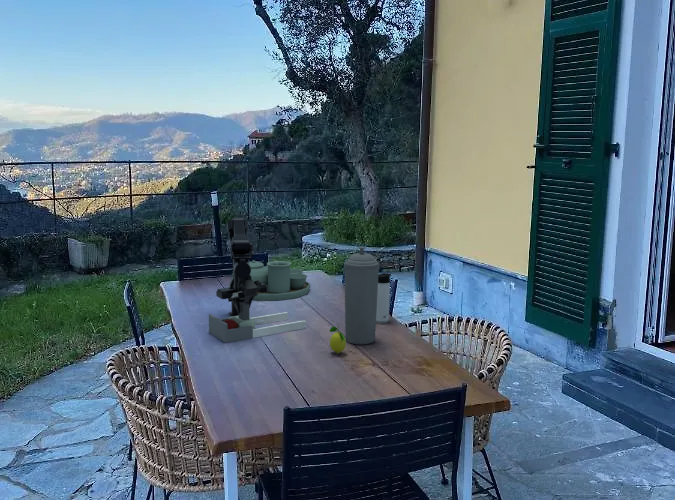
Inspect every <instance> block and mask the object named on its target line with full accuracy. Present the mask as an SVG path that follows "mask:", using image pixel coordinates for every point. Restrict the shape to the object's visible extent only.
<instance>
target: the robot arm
mask: <svg viewBox="0 0 675 500" xmlns="http://www.w3.org/2000/svg"><path fill="white" fill-rule="evenodd" d="M248 232H249V221H248V220H246V219H245V217H243V216H238V217H235V216H234V217H232V218H231V219H230V220H227V222H226V233H228V237H229V239H230V241H231V242H230V259H231V260H232V274H233V278H232V280H231V279H230V282H229V283H230V287H229V286H228V287H223V288H217V290H216V292H215V293H216V297H217V298H218V299H221V300H228V303H230V304H231V305H230V306H231V311H229V312H228V314H229V315H231V317H233V316H239V314H240V302H246V303H248V304H249V310H250V309H251V305H252V302H253V301H254V300H253V298H254V297H255V296H257V295H258V294H257V291H259V292H260V293H263V292H267V291H268V287H267V285H266V284H264V283H261V281H260V280H257V281H252V279H251V275H250V273H251V268H250V265H249V262H250V260H252V259H253V257H254V256H255V255H254V245H253V243H252V241H250V237H249V236H248V235H247V233H248Z"/></svg>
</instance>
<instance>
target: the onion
mask: <svg viewBox="0 0 675 500" xmlns="http://www.w3.org/2000/svg"><path fill="white" fill-rule="evenodd" d="M224 322H225V323H227V326H228V330H229V329H235V328H238V326H239V325H238V323H237V322H235V321H234V320H231V319H228V320H226V321H224Z"/></svg>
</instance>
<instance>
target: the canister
mask: <svg viewBox="0 0 675 500" xmlns="http://www.w3.org/2000/svg"><path fill="white" fill-rule="evenodd" d="M358 249H359V250H360V251H359V252H357V253H353V254H351V255H350V256H349V257H348V258H347V260H346V261H344V264H343V266H344V309H345V310H344V320H345V321H344V325H345V326H344V327H345V328H344V329H345V335H344V337H345V340H346V343H350V344H354V345H369V344H372V343H373V342H375V340H376V328H377V327H376V326H377V325H376V324H377V323H376V313H377V294H378V274H379V270H380V263H379V262H378V261H377V259H376V258H375V257H374V256H373V255H372V254H370V253H366V252H364V250H365V249H366V247H365V246H359V247H358Z"/></svg>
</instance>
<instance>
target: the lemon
mask: <svg viewBox="0 0 675 500" xmlns="http://www.w3.org/2000/svg"><path fill="white" fill-rule="evenodd" d="M339 326H340V325H337V327H336V326H331V328H330V329H329V332H331V333H333V334H332V335H331V337H330V339H329V347H330V349H331V350H332V351H333V352H335V353H336V354H338V355H339V354H340V353H341V352H343V351H344V350H345V349H346V346H347V341H346V338H345V335H344V334H343V333H342V332H340V330H339V329H338V328H340V327H339Z"/></svg>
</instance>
